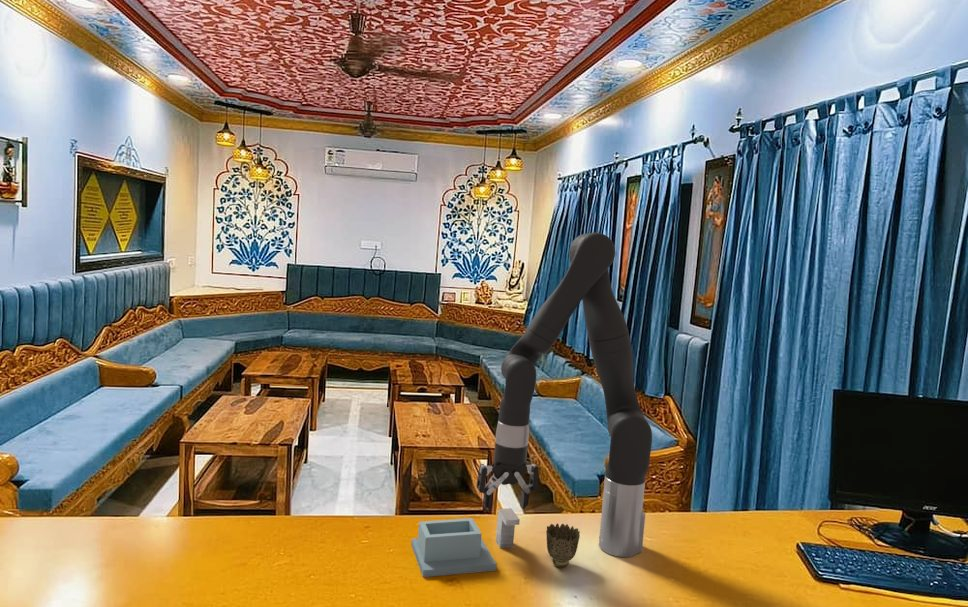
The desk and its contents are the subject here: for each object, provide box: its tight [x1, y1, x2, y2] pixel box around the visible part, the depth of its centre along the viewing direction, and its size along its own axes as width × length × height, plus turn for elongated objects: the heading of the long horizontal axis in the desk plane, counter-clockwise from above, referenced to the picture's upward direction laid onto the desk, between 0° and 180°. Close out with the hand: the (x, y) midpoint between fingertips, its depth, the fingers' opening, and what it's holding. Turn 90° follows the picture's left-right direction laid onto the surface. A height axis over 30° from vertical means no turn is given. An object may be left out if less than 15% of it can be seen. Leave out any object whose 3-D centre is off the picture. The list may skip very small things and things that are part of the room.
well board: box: [410, 517, 497, 578], centre depth 143 cm, size 16×14×7 cm
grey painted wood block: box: [495, 507, 520, 549], centre depth 149 cm, size 3×6×8 cm, turn 16°
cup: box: [545, 523, 581, 569], centre depth 142 cm, size 8×7×8 cm
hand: (505, 508), depth 150 cm, fingers open, 8 cm apart
